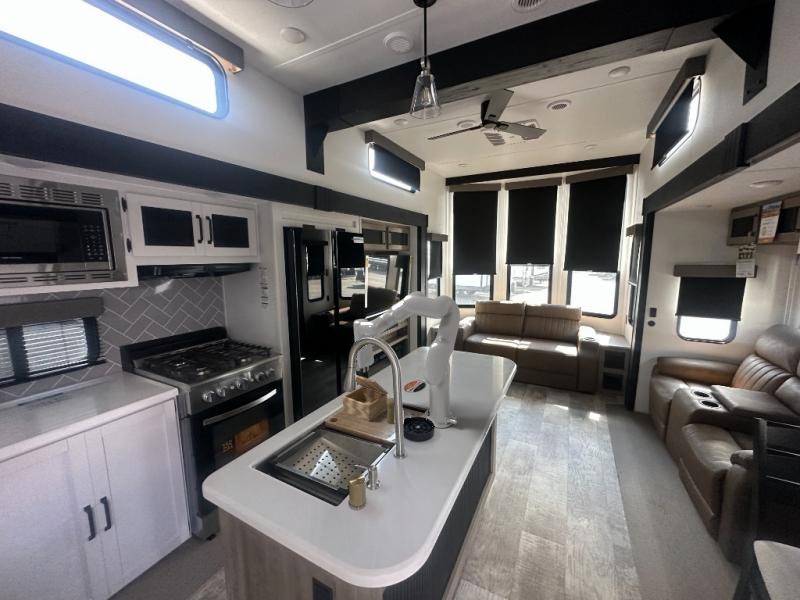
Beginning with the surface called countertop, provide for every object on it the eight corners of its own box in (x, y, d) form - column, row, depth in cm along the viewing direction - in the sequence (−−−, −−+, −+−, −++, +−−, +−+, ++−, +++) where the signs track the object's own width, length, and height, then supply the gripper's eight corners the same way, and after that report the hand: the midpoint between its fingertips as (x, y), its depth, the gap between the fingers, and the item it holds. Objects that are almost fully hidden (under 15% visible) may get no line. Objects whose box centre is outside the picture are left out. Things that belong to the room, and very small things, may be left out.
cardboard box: (387, 409, 160) (386, 394, 158) (369, 421, 149) (368, 406, 147) (362, 400, 171) (361, 386, 169) (343, 411, 160) (342, 396, 158)
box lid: (387, 394, 158) (388, 392, 159) (373, 382, 149) (374, 380, 150) (361, 386, 169) (362, 384, 170) (346, 374, 160) (347, 372, 161)
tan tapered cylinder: (391, 425, 145) (390, 403, 143) (384, 420, 150) (383, 398, 148) (401, 421, 148) (400, 399, 146) (394, 415, 153) (393, 395, 151)
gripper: (357, 349, 147) (359, 385, 150) (378, 341, 158) (380, 375, 161) (346, 346, 151) (349, 382, 154) (367, 339, 163) (369, 372, 166)
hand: (364, 378), depth 158 cm, fingers closed
